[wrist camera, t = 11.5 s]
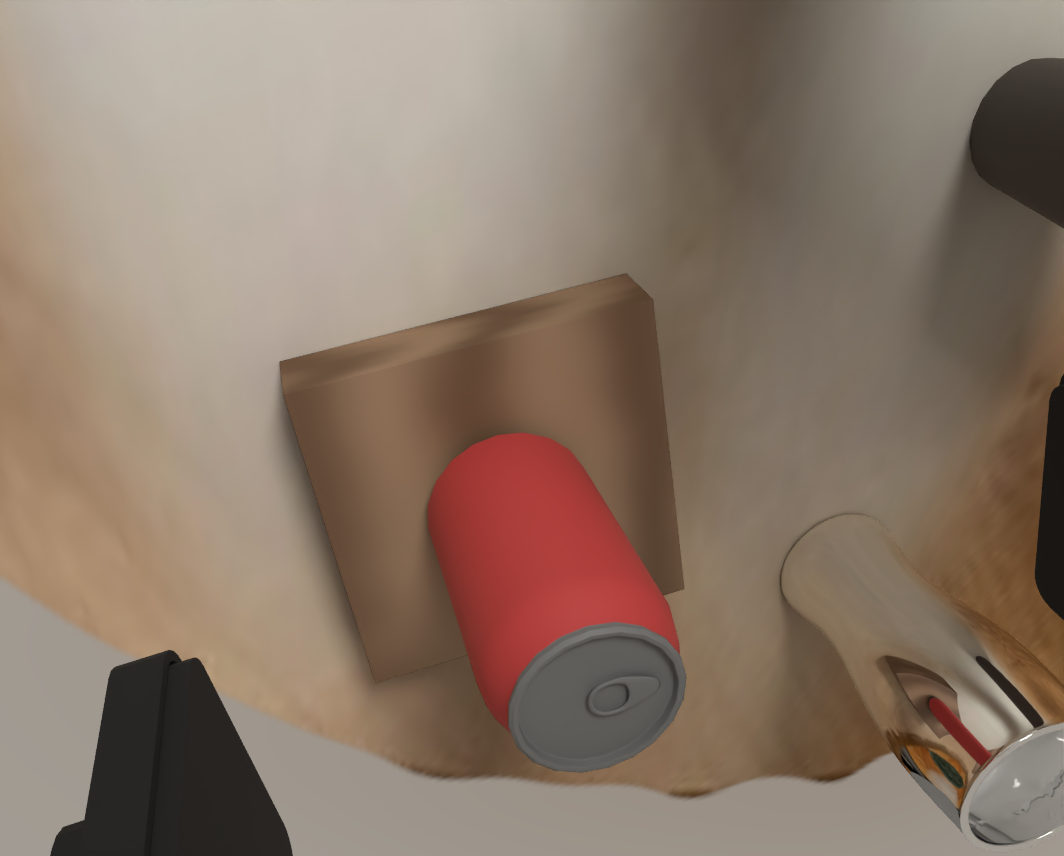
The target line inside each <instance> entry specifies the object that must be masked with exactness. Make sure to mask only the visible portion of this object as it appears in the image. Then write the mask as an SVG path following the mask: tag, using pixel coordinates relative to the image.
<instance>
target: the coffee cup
mask: <svg viewBox="0 0 1064 856" xmlns="http://www.w3.org/2000/svg"><path fill="white" fill-rule="evenodd" d="M970 147H971V156H972V161H973V163H974V165H975V167H976V169H977V171H978V173H979V175H980V176H981V177H982V178H984V179H985V180H986V181H987V182H988V183H989V184H991V185H992V186H994V187H995V188H997V189H999V190H1000V191H1002V192H1004V193H1005V194H1007V195H1009V196H1011V197H1012V198H1014V199H1016V200H1017V201H1019V202H1021V203H1022V204H1024V205H1026V206H1027V207H1029V208H1031V209H1032V210H1034V211H1036V212H1037V213H1039V214H1041V215H1042V216H1044V217H1046V218H1047V219H1049V220H1051V221H1052V222H1054V223H1056V224H1058V225H1059V226H1061V227H1063V228H1064V58H1043V59H1031V60H1029V61H1027V62H1024V63H1022V64H1020V65H1017V66H1015V67H1013V68H1012V69H1011V70H1009V71H1008V72H1007V73H1006V74H1004V75H1003V76H1002V77H1001V78H1000V79H998V80H997V81H996V82H995V83H994V85H993V86H992V87H991V89H990V90H989V91H988V93H987V94H986V95H985V97H984V98H983V99H982V102H981V104H980V106H979V109H978V111H977V113H976V115H975V118H974V120H973V126H972V131H971V137H970Z"/></svg>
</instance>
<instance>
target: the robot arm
mask: <svg viewBox="0 0 1064 856" xmlns="http://www.w3.org/2000/svg"><path fill="white" fill-rule="evenodd" d="M1035 580H1036V584H1037V587H1038V590H1039V592H1040V594H1041V596H1042V598H1043V599H1044V601H1045V602H1046V603H1047V604H1048V606H1049V607H1050V608H1051V609H1052V610H1053V611H1054V612H1055V613H1057V614H1058V615H1059V616H1060V617H1061V618H1062V619H1063V620H1064V375H1063V376H1062V378H1061V381H1060V385H1059V386H1058V387H1056V388H1054V390H1053V391H1052V393H1051V396H1050V400H1049V412H1048V424H1047V436H1046V447H1045V459H1044V471H1043V483H1042V495H1041V507H1040V518H1039V530H1038V542H1037V554H1036V566H1035ZM50 856H293V855H292V849H291V844H290V841H289V837H288V833H287V830H286V828H285V826H284V823H283V821H282V819H281V818H280V816H279V814H278V812H277V810H276V808H275V806H274V804H273V802H272V800H271V798H270V796H269V794H268V792H267V790H266V788H265V786H264V784H263V782H262V780H261V778H260V776H259V774H258V772H257V770H256V769H255V766H254V764H253V762H252V760H251V758H250V757H249V755H248V753H247V751H246V749H245V747H244V745H243V743H242V741H241V739H240V737H239V735H238V733H237V731H236V729H235V727H234V725H233V723H232V721H231V719H230V717H229V715H228V713H227V711H226V709H225V707H224V706H223V703H222V701H221V700H220V698H219V696H218V694H217V692H216V690H215V688H214V686H213V684H212V682H211V680H210V678H209V676H208V674H207V672H206V670H205V668H204V666H203V665H202V663H201V661H200V660H199V659H198V658H191V659H188V660H185V661H181V659H180V658H179V656H178V655H177V654H176V653H175V652H174V651H172V650H168V651H164V652H161V653H158V654H155V655H152V656H148V657H145V658H142V659H139V660H136V661H132V662H129V663H126V664H123V665H120V666H116V667H115V668H113V669H112V670H111V673H110V676H109V679H108V685H107V691H106V697H105V703H104V708H103V714H102V720H101V726H100V732H99V738H98V744H97V749H96V755H95V761H94V767H93V773H92V779H91V784H90V790H89V796H88V802H87V808H86V814H85V820H83V821H80V822H77V823H74V824H71V825H68V826H65V827H63V828H62V830H61V831H60V832H59V833H58V835H57V836H56V838H55V842H54V844H53V847H52V851H51V855H50Z"/></svg>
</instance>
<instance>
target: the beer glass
mask: <svg viewBox="0 0 1064 856" xmlns="http://www.w3.org/2000/svg"><path fill="white" fill-rule="evenodd" d="M781 587H782V591H783V594H784V597H785V599H786V600H787V602H788V603H789V605H790V606H791V607H792V608H793V609H794V610H795V611H796V612H797V613H798V614H800V615H801V616H802V617H803V618H805V619H806V620H807V621H808V622H810V623H811V624H812V625H813V626H815V627H816V628H817V629H818V630H819V631H820V632H822V633H823V635H824V636H825V637H826V638H827V639H828V640H829V641H830V643H831V644H832V646H833V647H834V649H835V650H836V652H837V653H838V655H839V657H840V659H841V661H842V663H843V664H844V666H845V668H846V670H847V672H848V674H849V676H850V678H851V680H852V682H853V684H854V686H855V688H856V690H857V692H858V694H859V696H860V698H861V700H862V702H863V704H864V706H865V708H866V710H867V712H868V714H869V715H870V717H871V719H872V720H873V722H874V724H875V726H876V727H877V729H878V731H879V732H880V734H881V736H882V738H883V739H884V741H885V742H886V743H887V745H888V746H889V747H890V749H891V750H892V752H893V753H894V754H895V756H896V757H897V758H898V760H899V761H900V763H901V764H902V765H903V766H904V768H905V769H906V770H907V771H908V772H909V774H910V775H911V776H912V777H913V779H914V780H915V781H916V782H917V783H918V785H919V786H920V787H921V788H922V789H923V790H924V792H925V793H926V794H927V795H928V796H929V797H930V798H931V799H932V800H933V801H934V803H935V804H936V805H937V806H938V807H939V808H940V809H941V810H942V811H943V812H944V813H945V814H946V815H947V817H948V818H949V819H950V820H951V821H952V822H953V823H954V824H955V825H956V826H957V827H958V828H959V829H960V831H961V832H962V833H963V834H964V836H965V838H966V839H967V840H968V841H969V842H970V843H971V844H972V845H974V846H975V847H977V848H979V849H982V850H985V851H989V852H1012V851H1017V850H1022V849H1025V848H1028V847H1031V846H1034V845H1036V844H1039V843H1041V842H1043V841H1045V840H1047V839H1049V838H1051V837H1053V836H1054V835H1056V834H1058V833H1059V832H1061V831H1063V830H1064V685H1063V684H1062V683H1061V682H1060V681H1059V680H1058V679H1057V678H1056V677H1055V676H1054V675H1053V674H1052V673H1051V672H1050V671H1049V670H1048V669H1047V668H1046V667H1045V666H1044V665H1043V664H1042V663H1041V662H1040V660H1039V659H1038V658H1037V657H1035V656H1034V655H1033V654H1032V653H1031V652H1030V651H1029V650H1028V649H1026V648H1025V647H1024V646H1023V645H1022V644H1021V643H1020V642H1019V641H1017V640H1016V639H1015V638H1014V637H1013V636H1012V635H1010V634H1009V633H1008V632H1006V631H1005V630H1003V629H1002V628H1001V627H999V626H998V625H997V624H995V623H994V622H992V621H991V620H990V619H988V618H987V617H986V616H984V615H983V614H981V613H979V612H978V611H976V610H975V609H973V608H972V607H970V606H969V605H967V604H966V603H964V602H962V601H961V600H959V599H958V598H956V597H955V596H953V595H951V594H950V593H948V592H947V591H945V590H943V589H942V588H940V587H939V586H937V585H936V584H935V583H933V582H932V581H930V580H929V579H927V578H926V577H925V576H923V575H922V574H921V573H920V572H919V571H918V570H916V569H915V567H914V566H913V565H912V564H911V563H910V562H909V561H908V559H907V558H906V557H905V555H904V554H903V552H902V551H901V549H900V548H899V546H898V544H897V543H896V541H895V540H894V538H893V537H892V535H891V534H890V532H889V531H888V530H887V529H886V528H885V526H884V525H883V524H881V523H880V522H879V521H877V520H875V519H874V518H872V517H869V516H866V515H861V514H847V515H841V516H837V517H834V518H831V519H828V520H826V521H824V522H822V523H820V524H818V525H817V526H815V527H814V528H812V529H811V530H809V531H808V532H807V533H806V534H805V535H804V536H803V537H801V539H800V540H799V541H798V542H797V543H796V544H795V545H794V547H793V548H792V550H791V551H790V553H789V555H788V557H787V558H786V561H785V563H784V566H783V570H782V575H781Z"/></svg>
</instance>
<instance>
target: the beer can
mask: <svg viewBox="0 0 1064 856" xmlns="http://www.w3.org/2000/svg"><path fill="white" fill-rule="evenodd" d="M428 529H429V532H430V535H431V538H432V542H433V545H434V548H435V551H436V554H437V558H438V561H439V564H440V567H441V570H442V574H443V577H444V580H445V583H446V586H447V590H448V593H449V596H450V599H451V602H452V606H453V609H454V612H455V615H456V618H457V622H458V625H459V628H460V631H461V634H462V638H463V641H464V644H465V647H466V650H467V654H468V657H469V660H470V663H471V666H472V670H473V673H474V676H475V679H476V682H477V685H478V687H479V690H480V692H481V694H482V697H483V699H484V701H485V704H486V706H487V707H488V709H489V710H490V712H491V713H492V715H493V716H494V717H495V719H496V720H497V721H498V722H499V723H500V724H501V725H502V726H504V727H505V728H506V729H507V730H508V731H509V732H510V733H511V734H512V736H513V739H514V741H515V743H516V746H517V748H518V749H519V750H520V751H522V752H523V753H524V754H525V755H526V756H527V757H528V758H529V759H530V760H531V761H532V762H534V763H537V764H539V765H542V766H544V767H547V768H550V769H552V770H555V771H568V772H587V771H592V770H598V769H603V768H608V767H611V766H613V765H615V764H618V763H620V762H622V761H625V760H627V759H630V758H632V757H634V756H635V755H637V754H638V753H639V752H641V751H642V750H644V749H645V748H646V747H648V746H649V745H651V744H652V743H653V742H655V741H656V740H657V738H658V737H659V736H660V735H661V734H662V733H663V732H664V730H665V729H666V728H667V727H668V726H669V725H670V724H671V723H672V721H673V720H674V718H675V716H676V714H677V712H678V710H679V708H680V705H681V703H682V701H683V699H684V692H685V685H686V673H685V670H684V666H683V663H682V659H681V656H680V650H679V641H678V637H677V633H676V629H675V625H674V622H673V618H672V614H671V611H670V607H669V604H668V603H667V601H666V600H665V598H664V596H663V595H662V593H661V591H660V590H659V588H658V587H657V585H656V583H655V582H654V580H653V578H652V577H651V575H650V574H649V572H648V570H647V569H646V567H645V566H644V564H643V562H642V561H641V559H640V557H639V556H638V554H637V553H636V551H635V549H634V548H633V546H632V545H631V543H630V541H629V540H628V538H627V536H626V535H625V533H624V532H623V530H622V528H621V527H620V525H619V523H618V522H617V520H616V519H615V517H614V515H613V514H612V512H611V511H610V509H609V507H608V506H607V504H606V502H605V501H604V499H603V498H602V496H601V494H600V493H599V491H598V490H597V488H596V486H595V485H594V483H593V481H592V480H591V478H590V477H589V475H588V473H587V472H586V470H585V468H584V467H583V466H582V464H581V463H580V462H579V461H578V459H577V458H576V457H575V456H574V454H573V453H572V452H571V451H570V450H569V449H568V448H566V447H564V446H563V445H561V444H559V443H557V442H556V441H554V440H552V439H551V438H548V437H543V436H538V435H533V434H528V433H513V434H503V435H496V436H494V437H491V438H489V439H486V440H483V441H481V442H478V443H476V444H473V445H472V446H470V447H469V448H468V449H466V450H465V451H464V452H462V453H461V454H460V455H458V456H457V457H456V458H454V459H453V460H452V461H451V462H450V464H449V465H448V466H447V468H446V469H445V470H444V472H443V473H442V474H441V476H440V477H439V478H438V480H437V481H436V483H435V486H434V489H433V492H432V495H431V498H430V500H429V503H428Z"/></svg>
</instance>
